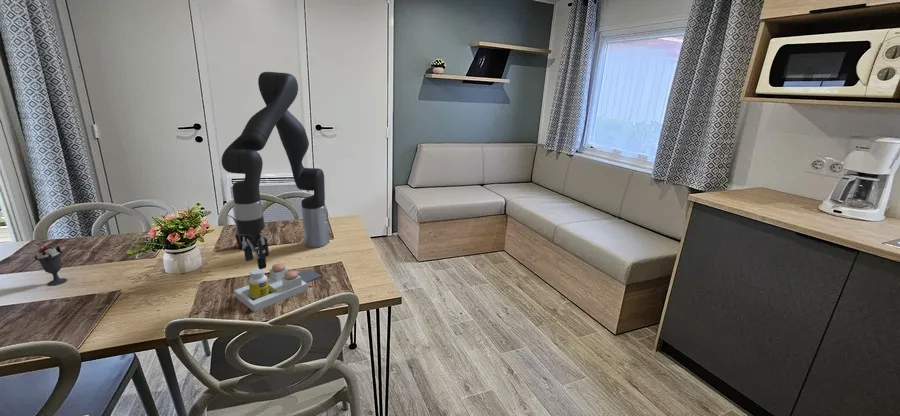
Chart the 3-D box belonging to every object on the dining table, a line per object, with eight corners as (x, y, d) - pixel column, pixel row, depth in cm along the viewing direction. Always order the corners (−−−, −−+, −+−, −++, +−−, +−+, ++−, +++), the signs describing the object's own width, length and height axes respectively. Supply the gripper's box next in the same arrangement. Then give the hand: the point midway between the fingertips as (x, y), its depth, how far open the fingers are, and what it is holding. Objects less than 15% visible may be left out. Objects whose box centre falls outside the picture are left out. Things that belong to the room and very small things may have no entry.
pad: (309, 269, 146) (309, 268, 145) (322, 276, 141) (321, 275, 141) (289, 277, 140) (289, 276, 140) (301, 284, 135) (301, 283, 135)
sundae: (40, 288, 127) (25, 246, 123) (48, 279, 133) (35, 239, 128) (66, 284, 130) (54, 243, 126) (73, 276, 136) (61, 236, 131)
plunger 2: (294, 279, 132) (293, 269, 131) (300, 283, 130) (299, 273, 129) (283, 283, 129) (282, 273, 128) (289, 288, 127) (288, 277, 126)
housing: (287, 277, 140) (286, 263, 138) (307, 289, 132) (306, 275, 130) (235, 297, 126) (233, 282, 124) (254, 312, 118) (252, 296, 117)
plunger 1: (282, 272, 137) (281, 262, 136) (288, 275, 134) (287, 265, 133) (271, 276, 134) (269, 266, 133) (277, 279, 132) (275, 269, 130)
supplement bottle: (262, 303, 123) (258, 276, 120) (247, 301, 124) (243, 273, 121) (273, 295, 128) (269, 268, 125) (258, 292, 129) (254, 266, 126)
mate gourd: (259, 246, 164) (255, 212, 160) (241, 252, 158) (236, 217, 153) (249, 242, 168) (244, 209, 163) (231, 248, 162) (225, 214, 157)
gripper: (273, 217, 116) (278, 267, 121) (250, 207, 124) (256, 254, 129) (247, 224, 110) (254, 275, 115) (226, 213, 119) (233, 261, 124)
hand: (255, 264), depth 122 cm, fingers open, 8 cm apart
